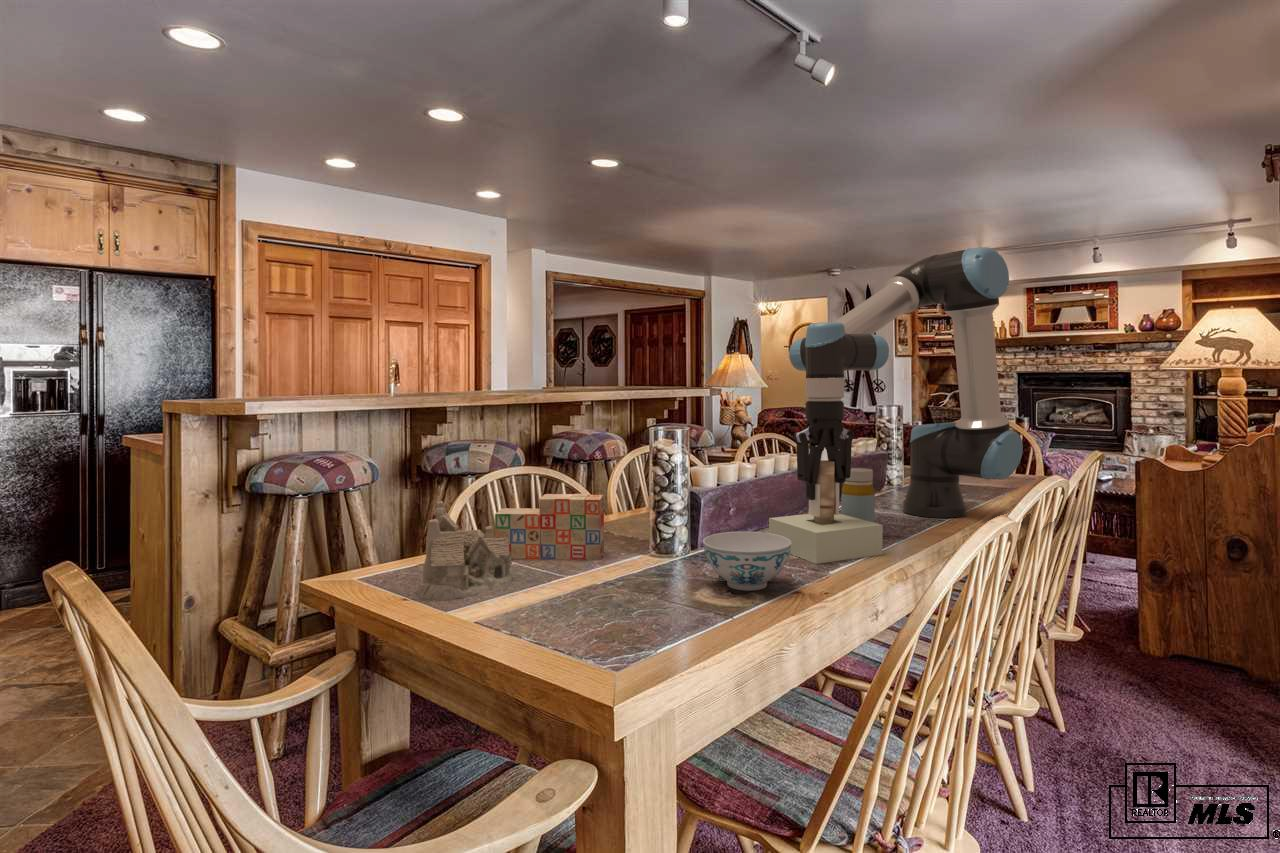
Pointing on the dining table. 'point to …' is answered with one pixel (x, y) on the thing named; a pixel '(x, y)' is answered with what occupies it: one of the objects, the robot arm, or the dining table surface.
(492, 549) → the ceramic cottage
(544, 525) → the stack of blocks
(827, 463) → the ash dowel
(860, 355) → the robot arm
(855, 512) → the bottle
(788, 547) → the chinaware
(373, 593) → the dining table surface
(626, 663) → the dining table surface
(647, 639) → the dining table surface
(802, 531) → the sage socket block
